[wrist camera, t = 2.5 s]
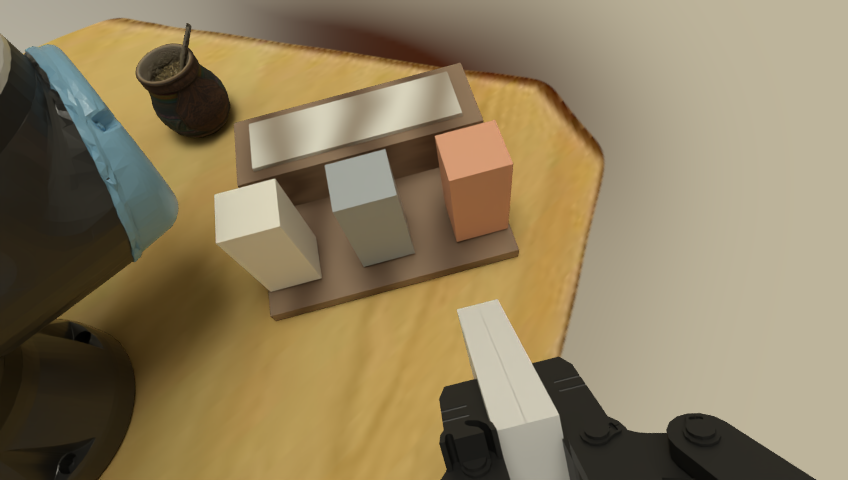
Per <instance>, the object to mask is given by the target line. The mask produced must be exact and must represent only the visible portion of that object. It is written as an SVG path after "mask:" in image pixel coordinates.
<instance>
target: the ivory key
mask: <svg viewBox="0 0 848 480" xmlns="http://www.w3.org/2000/svg"><path fill="white" fill-rule="evenodd" d="M214 197H215V232H216V244H217V245H218V246H219V247H220V248H222V249H223V250H224V251H225V252H226V253H227V254H228V255H229V256H231V257H232V258H233V259H234V260H235V261H236V262H237V263H239V264H240V265H241V266H242V267H243V268H244V269H245V270H246V271H248V272H249V273H250V274H251V275H252V276H253V277H254V278H256V279H257V280H258V281H259V282H260V283H261V284H262V285H263V286H265V287H266V288H267V289H268V290H269V291H270V292H272V291H276V290H280V289H283V288H287V287H291V286H295V285H298V284H302V283H306V282H310V281H313V280H317V279H321V278H322V275H321V268H320V261H319V254H318V248H317V241H316V237H315V235H314V234H313V232H312V231H311V229H310V228H309V226H308V225H307V224H306V222H305V221H304V219H303V218H302V216H301V215H300V214H299V212H298V211H297V209H296V208H295V206H294V205H293V203H292V202H291V201H290V199H289V198H288V196H287V195H286V193H285V192H284V191H283V189H282V188H281V186H280V185H279V183H278V182H277V180H276V179H271V180H267V181H264V182H260V183H256V184H252V185H249V186H245V187H241V188H237V189H234V190H230V191H226V192H222V193H219V194H215V195H214Z"/></svg>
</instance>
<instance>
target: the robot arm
mask: <svg viewBox="0 0 848 480" xmlns="http://www.w3.org/2000/svg"><path fill="white" fill-rule="evenodd" d="M25 52H26V53H25V54H24V55H23V54H22V53H21V52H20V51H19V50H18V49H17V48H16V47H14V46H13V45H12V44H11V43H10V42H9V41H8V40H7V39H6V38H5V37H4V36H3V35H1V34H0V480H96V479H97V478H98V477H99V476H100V475H101V473H102V472H103V471H104V470H105V468H106V467H107V465H108V464H109V462H110V461H111V459H112V458H113V456H114V455H115V453H116V451H117V449H118V448H119V446H120V444H121V442H122V440H123V437H124V435H125V433H126V430H127V427H128V424H129V421H130V418H131V414H132V410H133V404H134V396H135V381H134V373H133V368H132V365H131V362H130V359H129V357H128V355H127V353H126V351H125V350H124V348H123V347H122V346H121V345H120V343H119V342H118V341H117V340H116V339H114V338H113V337H112V336H110V335H109V334H107V333H105V332H103V331H101V330H98V329H96V328H93V327H91V326H88V325H85V324H83V323H79V322H75V321H70V320H61V319H56V318H58V317H59V316H60V315H62V314H63V313H64V312H66V311H67V310H68V309H70V308H71V307H72V306H74V305H75V304H76V303H78V302H79V301H80V300H82V299H83V298H84V297H86V296H87V295H88V294H90V293H91V292H92V291H94V290H95V289H96V288H98V287H99V286H100V285H102V284H103V283H104V282H106V281H107V280H109V279H110V278H111V277H113V276H114V275H115V274H117V273H118V272H119V271H121V270H122V269H123V268H125V267H126V266H127V265H129V264H130V263H131V262H136V261H137V260H138V258H140V257H141V255H142V252H143V251H144V250H145V249H146V248H147V247H149V246H150V245H151V244H152V243H153V242H154V241H156V240H157V239H158V238H159V237H160V236H162V235H163V234H164V233H165V232H166V231H167V230H169V229H170V228H171V227H172V226H173V223H174V222H175V220H176V218H177V214H178V201H177V199H176V196H175V195H174V193H173V191H172V190H171V188H170V187H169V186H168V184H167V183H166V182H165V180H164V179H163V178H162V176H161V175H160V174H159V172H158V171H157V170H156V168H155V167H154V166H153V164H152V163H151V162H150V160H149V159H148V158H147V157H146V155H145V154H144V153H143V151H142V150H141V149H140V148H139V146H138V145H137V144H136V142H135V141H134V140H133V139H132V137H131V136H130V135H129V134H128V132H127V131H126V130H125V129H124V127H123V126H122V125H121V124H120V122H118V120H117V119H116V118H115V117H114V115H113V113H112V112H111V111H110V110H109V108H108V107H107V106H106V105H105V103H104V102H103V101H102V99H101V98H100V97H99V95H98V94H97V93H96V91H95V90H94V89H93V88H92V86H91V85H90V84H89V83H88V81H87V80H86V79H85V78H84V76H83V75H82V74H81V73H80V71H79V70H78V69H77V68H76V67H75V65H74V64H73V63H72V62H71V60H70V59H69V58H68V57H67V56H66V55H65V53H64V52H63V51H62V50H61V49H59V48H58V47H56V46H54V45H48V44H47V45H43V46H41V47H33V46H32V47H31V48H28V49H26V50H25ZM457 313H458V317H459V321H460V325H461V329H462V333H463V337H464V341H465V345H466V349H467V353H468V357H469V361H470V365H471V369H472V373H473V376H474V380H470V381H466V382H462V383H458V384H454V385H450V386H446V387H444V389H443V391H442V394H441V396H440V398H439V401H440V407H441V414H442V421H443V427H444V431H443V432H442V434H441V435H440V442H439V444H440V447H441V451H442V454H443V458H444V461H445V465H446V468H447V470H446V473H445V474H444V476H443V477H442V479H441V480H816V479H814V478H813V477H811V476H809V475H808V474H806V473H805V472H803V471H802V470H800V469H798V468H797V467H795V466H794V465H792V464H791V463H789V462H788V461H786V460H785V459H783V458H781V457H780V456H778V455H777V454H775V453H774V452H772V451H770V450H769V449H767V448H766V447H764V446H763V445H761V444H759V443H758V442H756V441H755V440H753V439H752V438H750V437H749V436H747V435H746V434H744V433H742V432H741V431H739V430H738V429H736V428H735V427H733V426H732V425H730V424H728V423H727V422H725V421H723V420H721V419H719V418H717V417H714V416H711V415H706V414H701V413H694V414H693V413H692V414H684V415H681V416H677V417H676V418H674V419H673V420H672V421H670V422H669V425H668V427H667V433H638V432H633V431H629V430H627V429H626V427H624V426H623V425H622V424H621V423H620V422H619V421H617V420H615V419H613V418H610V417H608V416H607V415H606V413H605V412H604V410H603V409H602V407H601V406H600V404H599V403H598V401H597V400H596V399H595V397H594V396H593V394H592V393H591V391H590V390H589V388H588V387H587V386H586V385H585V383H584V381H583V380H582V378H581V377H580V376H579V374H578V372H577V371H576V369H575V368H574V366H573V365H572V364H571V363H569V362H567V361H566V360H564V359H562V358H560V357H556V358H552V359H548V360H544V361H540V362H536V363H531V361H530V359H529V357H528V355H527V353H526V352H525V350H524V348H523V346H522V344H521V342H520V340H519V338H518V337H517V335H516V333H515V331H514V329H513V327H512V325H511V323H510V322H509V320H508V318H507V316H506V314H505V312H504V310H503V308H502V306H501V305H500V303H499V301H498V299H496V300H492V301H488V302H484V303H480V304H477V305H473V306H469V307H465V308H461V309H457Z"/></svg>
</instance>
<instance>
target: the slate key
mask: <svg viewBox="0 0 848 480" xmlns="http://www.w3.org/2000/svg"><path fill="white" fill-rule="evenodd" d="M325 170H326V176H327V182H328V188H329V194H330V200H331V205H332V211H333V214H334V215H335V217H336V219H337V221H338V222H339V224H340V226H341V228H342V230H343V231H344V233H345V235H346V237H347V238H348V240H349V242H350V244H351V245H352V247H353V249H354V251H355V252H356V254H357V256H358V258H359V259H360V261H361V263H362V265H363V266H364V267H366V266H369V265H373V264H377V263H380V262H384V261H388V260H392V259H395V258H399V257H403V256H407V255H410V254H414V253H415V251H414V247H413V243H412V240H411V236H410V232H409V228H408V224H407V220H406V216H405V212H404V209H403V206H402V203H401V199H400V196H399V193H398V189H397V186H396V183H395V180H394V176H393V173H392V170H391V166H390V163H389V160H388V157H387V153H386V150H385V149H384V150H380V151H376V152H372V153H369V154H365V155H361V156H357V157H354V158H350V159H346V160H342V161H339V162H335V163H331V164H327V165H325Z"/></svg>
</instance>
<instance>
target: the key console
mask: <svg viewBox="0 0 848 480" xmlns="http://www.w3.org/2000/svg"><path fill="white" fill-rule="evenodd" d="M481 123H483V118H482V116H481V113H480V111H479V108H478V106H477V103H476V101H475V98H474V95H473V93H472V90H471V88H470V85H469V83H468V80H467V78H466V75H465V73H464V70H463V68H462V65H461V63H458V64H454V65H451V66H447V67H443V68H439V69H436V70H432V71H428V72H424V73H420V74H417V75H413V76H409V77H405V78H402V79H398V80H394V81H390V82H387V83H383V84H379V85H375V86H372V87H368V88H364V89H360V90H357V91H353V92H349V93H345V94H342V95H338V96H334V97H330V98H327V99H323V100H319V101H315V102H312V103H308V104H304V105H300V106H297V107H293V108H289V109H285V110H281V111H278V112H274V113H270V114H266V115H263V116H259V117H255V118H251V119H248V120H244V121H240V122H236V123H234V133H235V151H236V168H237V185H238V187H239V188H241V187H245V186H249V185H252V184H256V183H260V182H264V181H267V180H271V179H276V180H277V182H278V183H279V185H280V186H281V188H282V189H283V191H284V192H285V193H286V195H287V196H288V198H289V199H290V201H291V202H292V203H293V205H294V206H295V208H296V209H297V211H298V212H299V214H300V215H301V216H302V218H303V219H304V221H305V222H306V224H307V225H308V226H309V228H310V229H311V231H312V232H313V234H314V235H315V237H316V241H317V248H318V254H319V261H320V268H321V275H322V278H321V279H317V280H313V281H310V282H306V283H302V284H298V285H295V286H291V287H287V288H283V289H280V290H276V291H272V292H270V291H269V290H268V292H269V304H270V316H271V317H272V318H273V319H275V320H276V321H277V320H281V319H285V318H289V317H292V316H296V315H300V314H303V313H307V312H311V311H315V310H318V309H322V308H326V307H330V306H333V305H337V304H341V303H345V302H348V301H352V300H356V299H359V298H363V297H367V296H371V295H374V294H378V293H382V292H386V291H389V290H393V289H397V288H400V287H404V286H408V285H412V284H415V283H419V282H423V281H427V280H430V279H434V278H438V277H441V276H445V275H449V274H453V273H456V272H460V271H464V270H468V269H471V268H475V267H479V266H482V265H486V264H490V263H494V262H497V261H501V260H505V259H509V258H512V257H516V256H518V253H519V249H518V246H517V243H516V241H515V238H514V235H513V233H512V230H511V227H510V225H509V222H508V228H507V229H504V230H500V231H496V232H492V233H489V234H485V235H481V236H478V237H474V238H470V239H466V240H463V241H459V242H457V241H456V238H455V234H454V231H453V228H452V225H451V221H450V218H449V215H448V212H447V208H446V205H445V201H444V194H443V188H442V181H441V175H440V168H439V161H438V155H437V148H436V141H435V136H436V135H440V134H444V133H447V132H451V131H455V130H459V129H462V128H466V127H470V126H474V125H477V124H481ZM384 149H385V150H386V153H387V157H388V160H389V163H390V166H391V170H392V173H393V176H394V180H395V183H396V186H397V189H398V193H399V196H400V199H401V203H402V206H403V209H404V212H405V216H406V220H407V224H408V228H409V232H410V236H411V240H412V243H413V247H414V251H415V253H414V254H410V255H407V256H403V257H399V258H395V259H392V260H388V261H384V262H380V263H377V264H373V265H369V266H366V267H364V266H363V265H362V263H361V261H360V259H359V258H358V256H357V254H356V252H355V251H354V249H353V247H352V245H351V244H350V242H349V240H348V238H347V237H346V235H345V233H344V231H343V230H342V228H341V226H340V224H339V222H338V221H337V219H336V217H335V215H334V214H333V211H332V205H331V200H330V194H329V188H328V182H327V176H326V170H325V165H327V164H331V163H335V162H339V161H342V160H346V159H350V158H354V157H357V156H361V155H365V154H369V153H372V152H376V151H380V150H384Z"/></svg>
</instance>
